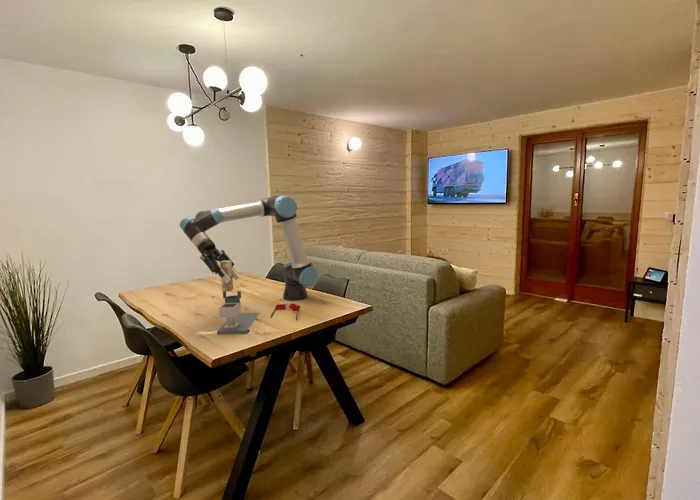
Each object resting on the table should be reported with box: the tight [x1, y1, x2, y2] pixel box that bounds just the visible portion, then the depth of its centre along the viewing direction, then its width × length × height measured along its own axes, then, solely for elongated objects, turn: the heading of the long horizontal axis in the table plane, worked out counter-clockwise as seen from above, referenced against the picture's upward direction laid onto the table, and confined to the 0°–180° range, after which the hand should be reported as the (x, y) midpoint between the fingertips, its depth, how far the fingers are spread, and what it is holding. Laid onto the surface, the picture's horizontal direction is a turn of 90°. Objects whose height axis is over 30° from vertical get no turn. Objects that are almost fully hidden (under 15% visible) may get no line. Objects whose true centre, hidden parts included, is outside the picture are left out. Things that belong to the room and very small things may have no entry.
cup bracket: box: [218, 302, 242, 329], centre depth 170 cm, size 8×8×11 cm
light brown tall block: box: [219, 259, 234, 293], centre depth 167 cm, size 4×4×14 cm
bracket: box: [222, 290, 242, 304], centre depth 211 cm, size 9×9×9 cm
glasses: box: [270, 303, 301, 321], centre depth 189 cm, size 14×16×5 cm
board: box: [216, 312, 261, 335], centre depth 179 cm, size 14×26×2 cm, turn 1°
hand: (233, 279), depth 166 cm, fingers closed on light brown tall block, 5 cm apart
